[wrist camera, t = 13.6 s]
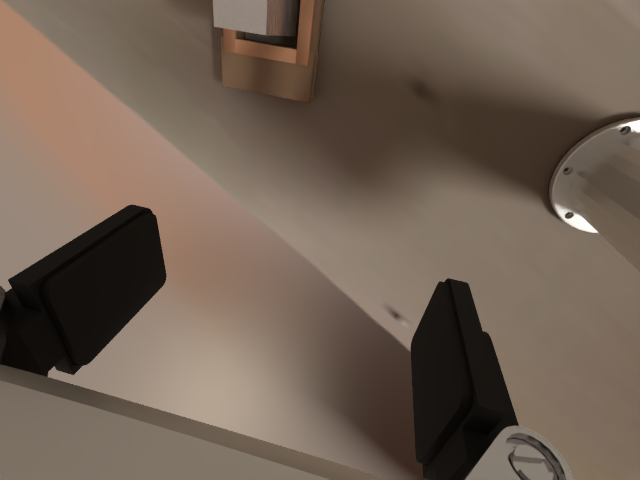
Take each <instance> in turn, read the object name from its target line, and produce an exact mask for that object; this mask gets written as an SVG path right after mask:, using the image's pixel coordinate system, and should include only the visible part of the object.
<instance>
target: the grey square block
mask: <svg viewBox="0 0 640 480" xmlns="http://www.w3.org/2000/svg"><path fill="white" fill-rule="evenodd" d="M297 6H298V0H213V15H214V27H219V28H225V29H231V30H237V31H243V32H249V33H255V34H261V35H269V36H294V37H295V32H296V19H297Z"/></svg>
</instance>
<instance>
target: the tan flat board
mask: <svg viewBox="0 0 640 480" xmlns="http://www.w3.org/2000/svg"><path fill="white" fill-rule="evenodd" d="M324 1H325V0H301V4H300V15H299V27H298V39H297V48H293V47H287V46H281V45H276V44H270V43H264V42H259V41H253V40H247V39H244V37H245V32H243V31H237V30H231V29H225V28H221V61H222V86H223V87H229V88H234V89H239V90H244V91H250V92H255V93H260V94H265V95H271V96H276V97H281V98H286V99H292V100H297V101H302V102H307V103H309V102H311V101H312V100H313V94H314V86H315V77H316V69H317V60H318V52H319V43H320V35H321V26H322V18H323V9H324Z"/></svg>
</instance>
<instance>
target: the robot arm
mask: <svg viewBox="0 0 640 480" xmlns="http://www.w3.org/2000/svg"><path fill="white" fill-rule="evenodd" d="M621 129H622V130H621ZM565 168H566V169H565ZM564 169H565V170H564ZM549 198H550V202H551V205H552V208H553V209H554V211H555V212H556V214H557V215H558V216H559V217H560V218H561V219H562V220H563V221H564V222H565V223H567V224H568V225H570V226H571V227H574V228H576V229H579V230H581V231H586V232H591V233H599V234H601V235H602V236H603V237H604V238H605V239H606V240H607V241H608V242H609V243H610V244H611V245H612V246H613V247H614V248H615V249H616V250H617V251H618V252H619V253H621V254H622V255H623V256H624V257H625V258H626V259H627V260H628V261H629V262H630V263H631V264H632V265H633V266H634V267H635V268H636V269H637V270H638V271H639V272H640V117H636V118H630V119H624V120H621V121H618V122H615V123H612V124H609V125H607V126H604V127H602V128H600V129H598V130H596V131H594V132H593V133H591V134H589V135H588V136H586V137H585V138H583V139H582V140H581V141H579V142H578V143H577V144H576V145H575V146H573V147H572V148H571V149H570V150H569V151H568V152H567V154H566V155H565V156H564V157H563V158H562V159H561V161H560V162H559V164H558V166H557V167H556V169H555V171H554V173H553V176H552V178H551V181H550V187H549ZM8 281H9V283H10V285H11V287H12V289H10V290H9V291H7V292H5V290H4V289H3V288H2V287H1V286H0V480H388V479H385V478H382V477H379V476H376V475H373V474H370V473H367V472H363V471H360V470H357V469H354V468H351V467H348V466H345V465H342V464H339V463H335V462H332V461H329V460H325V459H322V458H319V457H315V456H312V455H309V454H306V453H302V452H299V451H296V450H292V449H289V448H286V447H282V446H279V445H276V444H273V443H269V442H266V441H263V440H259V439H256V438H252V437H249V436H246V435H242V434H239V433H236V432H233V431H229V430H226V429H223V428H219V427H216V426H212V425H209V424H206V423H202V422H199V421H195V420H192V419H188V418H185V417H182V416H179V415H175V414H172V413H168V412H165V411H161V410H158V409H155V408H152V407H148V406H144V405H141V404H138V403H134V402H131V401H127V400H124V399H121V398H117V397H114V396H111V395H107V394H104V393H100V392H97V391H93V390H90V389H87V388H83V387H80V386H76V385H73V384H69V383H66V382H62V381H59V380H55V379H52V378H48V371H49V370H51V368H52V367H54V366H55V367H56V369H57V370H58V371H62V372H65V373H68V374H72V375H74V374H75V373H76V372H77V371H78V370H79V369H80V368H81V367H82V366H83V365H87V364H88V363H90V362H91V361H92V360H93V359H94V358H95V357H96V356H97V355H98V353H100V352H101V351H102V349H103V348H104V347H105V346H106V345H107V344H108V343H109V342H110V341H111V340H112V339H113V338H114V337H115V336H116V335H117V334H118V333H119V332H120V331H121V329H122V328H123V327H124V326H125V325H126V324H127V323H128V322H129V321H130V320H131V319H132V318H133V317H134V316H135V315H136V314H137V312H139V310H140V309H141V308H142V307H143V306H144V305H145V304H146V303H147V302H148V301H149V300H150V299H151V298H152V297H153V296H154V295H155V294H156V293H157V292H158V290H159V289H160V288H161V287H162V286H163V285H164V283H165V281H166V270H165V265H164V259H163V253H162V247H161V241H160V236H159V230H158V224H157V218H156V216H155V215H154V214H153V213H152V211H151V210H150V209H148V208H145V207H140V206H136V205H129V206H127V207H125V208H124V209H122V210H120V211H119V212H117V213H116V214H114V215H112V216H111V217H109V218H107V219H106V220H104V221H103V222H101V223H99V224H98V225H96V226H95V227H93V228H91V229H90V230H88V231H86V232H85V233H83V234H82V235H80V236H78V237H77V238H75V239H73V240H72V241H70V242H69V243H67V244H65V245H64V246H62V247H61V248H59V249H57V250H56V251H54V252H53V253H51V254H49V255H48V256H46V257H44V258H43V259H41V260H39V261H38V262H36V263H35V264H33V265H31V266H30V267H28V268H27V269H25V270H23V271H22V272H20V273H18V274H17V275H15V276H14V277H12V278H10V279H9V280H8ZM411 366H412V387H413V406H414V407H413V408H414V427H415V428H414V429H415V449H416V459H417V462H419V463H422V464H423V477H424V478H427V479H430V480H574V478H573V475H572V473H571V471H570V469H569V466H568V464H567V463H566V461H565V460H564V458H563V457H562V456H561V454H560V453H559V451H558V450H557V449H556V448H555V447H554V446H553V445H552V444H551V443H550V442H549V441H548V440H546V439H545V438H543V437H542V436H541V435H539V434H538V433H536V432H534V431H532V430H530V429H528V428H526V427H520V426H519V425H518V422H517V419H516V415H515V412H514V409H513V406H512V403H511V400H510V397H509V393H508V390H507V387H506V384H505V381H504V378H503V375H502V372H501V368H500V365H499V362H498V359H497V356H496V353H495V350H494V346H493V343H492V340H491V338H490V336H489V334H488V333H487V332H483V331H482V328H481V324H480V321H479V318H478V314H477V311H476V308H475V304H474V301H473V298H472V294H471V291H470V287H469V285H468V283H466V282H462V281H457V280H453V279H449V278H448V279H446V280H445V282H441V281H440V282H439V283H438V284H437V287H436V289H435V291H434V293H433V295H432V297H431V300H430V302H429V304H428V306H427V308H426V310H425V313H424V315H423V317H422V319H421V321H420V323H419V326H418V328H417V330H416V332H415V334H414V336H413V339H412V342H411Z"/></svg>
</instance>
